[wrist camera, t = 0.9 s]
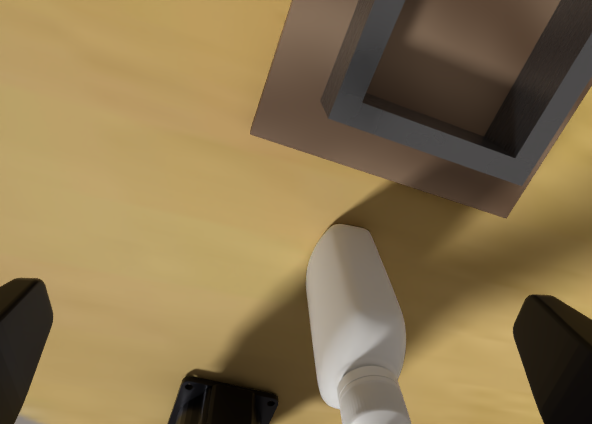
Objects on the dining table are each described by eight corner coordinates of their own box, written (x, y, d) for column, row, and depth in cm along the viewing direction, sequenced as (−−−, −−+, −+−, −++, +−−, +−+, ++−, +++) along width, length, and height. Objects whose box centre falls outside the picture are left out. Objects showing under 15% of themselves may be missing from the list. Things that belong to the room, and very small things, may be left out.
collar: (490, 161, 21) (521, 186, 19) (320, 100, 20) (327, 118, 17) (639, -93, 17) (709, -109, 14) (435, -203, 15) (471, -244, 12)
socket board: (497, 209, 24) (506, 218, 23) (250, 128, 21) (250, 134, 20) (712, -134, 17) (736, -141, 16) (395, -320, 14) (403, -340, 14)
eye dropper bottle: (399, 253, 25) (496, 453, 14) (329, 313, 27) (370, 531, 16) (345, 208, 23) (409, 393, 13) (276, 274, 25) (280, 486, 14)
